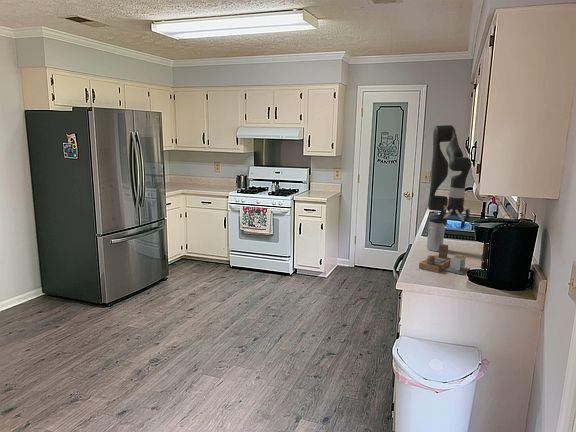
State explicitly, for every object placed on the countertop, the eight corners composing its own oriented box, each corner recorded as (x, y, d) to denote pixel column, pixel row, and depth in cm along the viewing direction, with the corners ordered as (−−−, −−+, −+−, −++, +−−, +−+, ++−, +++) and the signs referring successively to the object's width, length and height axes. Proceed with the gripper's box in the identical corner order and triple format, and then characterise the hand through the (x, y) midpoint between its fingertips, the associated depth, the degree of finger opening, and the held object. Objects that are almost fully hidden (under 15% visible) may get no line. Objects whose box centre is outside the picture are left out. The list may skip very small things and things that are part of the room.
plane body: (435, 259, 240) (436, 242, 238) (453, 263, 234) (454, 245, 232) (418, 268, 224) (420, 249, 222) (437, 272, 217) (439, 253, 215)
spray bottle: (477, 267, 229) (482, 221, 224) (496, 268, 228) (502, 222, 224) (485, 273, 219) (490, 225, 214) (505, 274, 218) (511, 226, 214)
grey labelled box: (454, 266, 226) (456, 253, 225) (464, 268, 223) (465, 255, 222) (449, 269, 220) (450, 256, 219) (459, 271, 217) (460, 258, 216)
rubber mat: (452, 266, 229) (452, 264, 229) (469, 269, 224) (470, 268, 223) (444, 271, 220) (444, 269, 220) (462, 275, 215) (462, 273, 214)
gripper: (473, 197, 219) (469, 227, 223) (445, 193, 228) (442, 223, 231) (468, 198, 213) (465, 230, 217) (440, 195, 222) (437, 225, 225)
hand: (453, 226), depth 224 cm, fingers open, 8 cm apart
